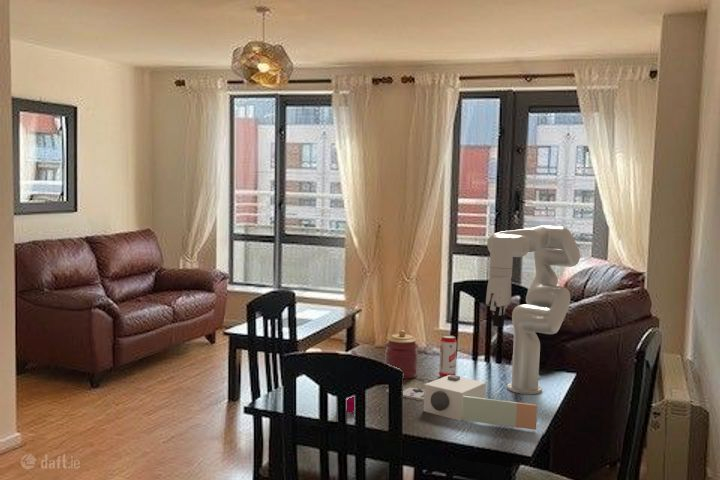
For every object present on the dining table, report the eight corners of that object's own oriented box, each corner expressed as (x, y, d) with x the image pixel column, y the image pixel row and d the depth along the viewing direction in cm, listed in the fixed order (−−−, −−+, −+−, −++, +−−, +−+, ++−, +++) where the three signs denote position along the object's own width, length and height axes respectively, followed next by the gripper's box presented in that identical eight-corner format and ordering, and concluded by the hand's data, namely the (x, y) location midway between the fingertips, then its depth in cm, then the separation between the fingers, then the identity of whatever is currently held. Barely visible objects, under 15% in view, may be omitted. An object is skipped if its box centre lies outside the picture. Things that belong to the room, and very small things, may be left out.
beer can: (457, 376, 273) (459, 336, 272) (451, 380, 268) (452, 339, 267) (443, 374, 276) (444, 334, 275) (436, 377, 271) (437, 336, 270)
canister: (412, 380, 265) (414, 335, 264) (380, 376, 269) (381, 331, 268) (420, 372, 277) (422, 328, 276) (389, 369, 282) (390, 325, 280)
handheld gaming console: (410, 386, 254) (448, 393, 246) (410, 390, 254) (448, 398, 246) (397, 392, 245) (437, 400, 238) (397, 397, 245) (437, 405, 238)
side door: (536, 428, 213) (537, 404, 213) (535, 429, 212) (537, 405, 212) (462, 419, 220) (463, 395, 220) (462, 420, 219) (463, 396, 219)
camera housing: (448, 400, 242) (449, 372, 241) (484, 409, 233) (486, 379, 233) (420, 412, 228) (422, 382, 227) (458, 422, 219) (459, 390, 219)
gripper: (500, 269, 244) (498, 321, 245) (480, 273, 232) (477, 327, 233) (520, 272, 239) (518, 324, 240) (500, 275, 227) (498, 331, 229)
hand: (498, 326), depth 237 cm, fingers closed
